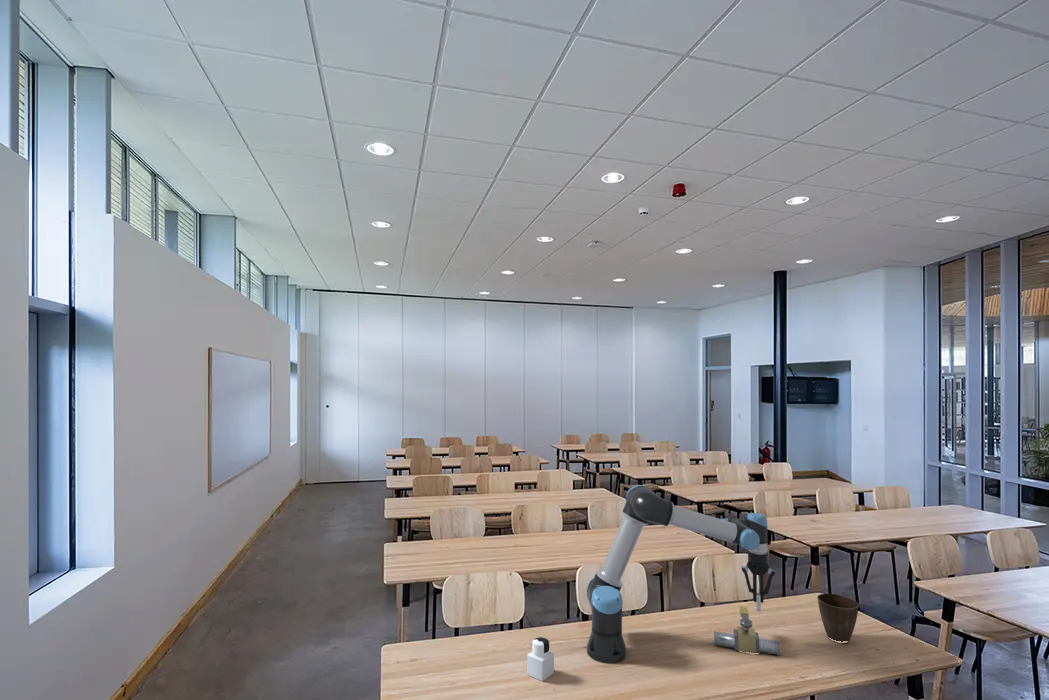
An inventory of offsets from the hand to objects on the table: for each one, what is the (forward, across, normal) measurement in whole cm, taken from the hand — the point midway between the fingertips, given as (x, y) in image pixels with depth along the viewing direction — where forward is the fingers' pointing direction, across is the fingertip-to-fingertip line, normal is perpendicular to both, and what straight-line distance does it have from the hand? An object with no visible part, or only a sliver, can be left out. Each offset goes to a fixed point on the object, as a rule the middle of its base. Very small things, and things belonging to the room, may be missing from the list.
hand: (758, 610), depth 224 cm
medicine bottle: (+12, -78, -55) cm, 96 cm away
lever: (+3, -5, -4) cm, 7 cm away
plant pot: (+13, +32, +12) cm, 36 cm away
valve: (+12, -6, -10) cm, 17 cm away
